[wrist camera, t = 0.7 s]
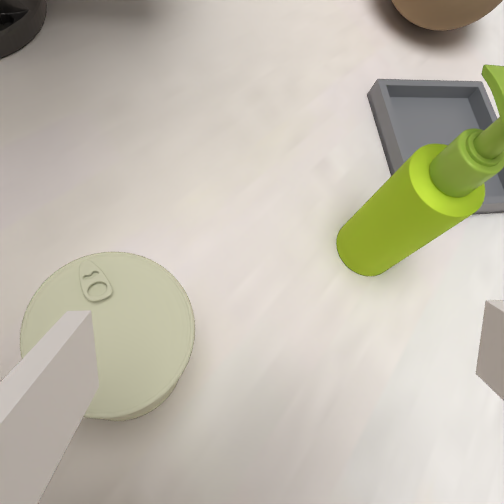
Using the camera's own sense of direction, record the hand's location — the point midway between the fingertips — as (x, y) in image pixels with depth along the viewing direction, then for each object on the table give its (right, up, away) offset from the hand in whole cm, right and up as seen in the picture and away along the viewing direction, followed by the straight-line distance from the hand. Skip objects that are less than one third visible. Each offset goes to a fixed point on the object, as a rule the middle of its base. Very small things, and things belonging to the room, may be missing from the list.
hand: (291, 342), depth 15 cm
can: (-11, -5, +20) cm, 23 cm away
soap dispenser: (+10, +4, +28) cm, 30 cm away
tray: (+20, +14, +34) cm, 42 cm away
